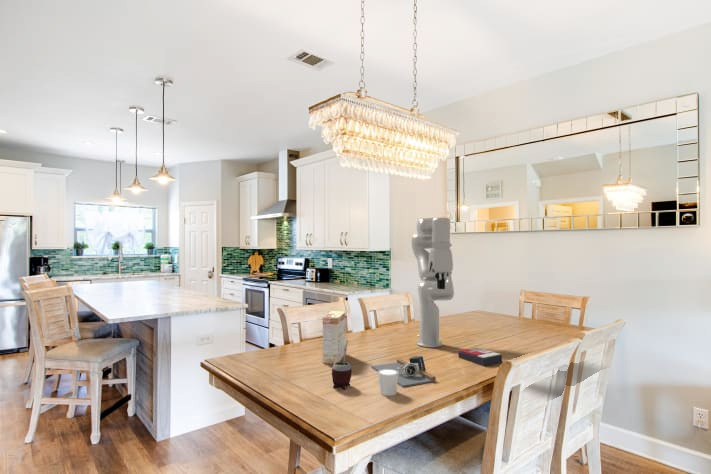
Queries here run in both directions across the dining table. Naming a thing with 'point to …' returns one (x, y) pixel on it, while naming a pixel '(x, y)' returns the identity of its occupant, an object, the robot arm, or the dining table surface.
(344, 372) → the mate gourd
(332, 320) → the coffeecake box
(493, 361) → the calculator
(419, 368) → the watch
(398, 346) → the dining table surface
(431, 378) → the mat
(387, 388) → the white cup
